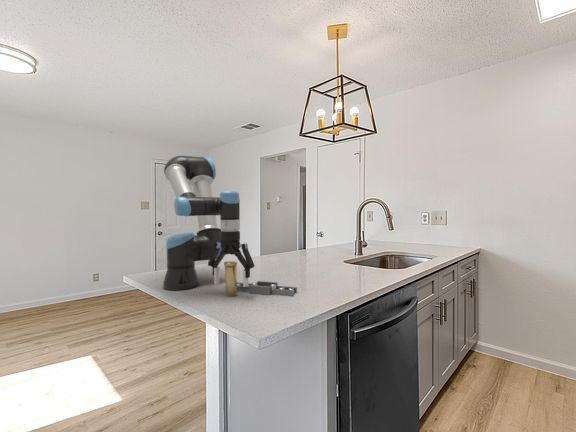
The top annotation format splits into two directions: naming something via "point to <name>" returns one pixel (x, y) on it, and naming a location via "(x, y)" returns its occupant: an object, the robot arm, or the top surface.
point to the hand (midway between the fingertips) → (231, 284)
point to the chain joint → (267, 288)
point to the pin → (230, 278)
